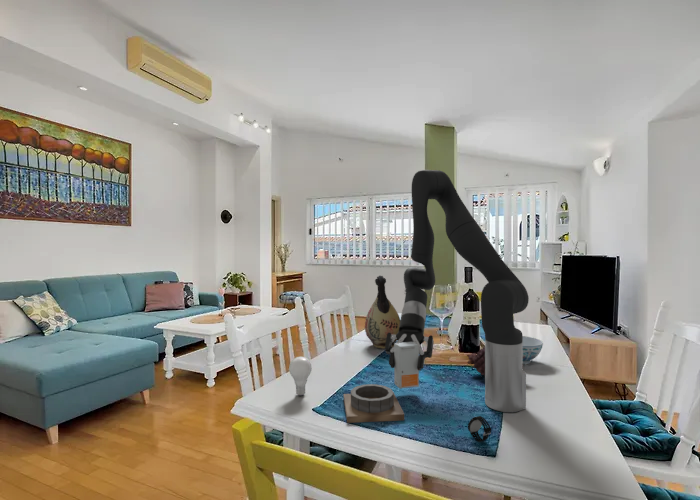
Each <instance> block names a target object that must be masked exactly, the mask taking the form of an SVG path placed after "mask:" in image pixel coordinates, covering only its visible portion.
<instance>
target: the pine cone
mask: <svg viewBox="0 0 700 500" xmlns="http://www.w3.org/2000/svg"><path fill="white" fill-rule="evenodd" d="M466 357H468V358H467V359H468V360H467V362H466V363H467V364H468V365H473V368H474V369H475V370H476V371H477V372H478V373H479V374H480V375H482V376H485V347H483V348H480V349H479V350H478V351H477V352H473V353H470V354H466Z"/></svg>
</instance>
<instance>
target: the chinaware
mask: <svg viewBox="0 0 700 500" xmlns="http://www.w3.org/2000/svg"><path fill="white" fill-rule="evenodd" d="M543 345H544V342H543V341H542V340H540V339H538V338H536V337H531V336H527V335H523V365H528V364H531V361H533V360H534V359H536V358H537V357H538V355H540V353H541V351H542V349H543Z"/></svg>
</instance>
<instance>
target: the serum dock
mask: <svg viewBox="0 0 700 500" xmlns="http://www.w3.org/2000/svg"><path fill="white" fill-rule="evenodd" d="M343 404H344V412H345V418H346V422H347V424H349V423H350V424H351V423H369V422H370V423H371V422H373V423H374V422H395V421H396V422H397V421H405V412H404V410H403V409H402V406H401V405H400V402H399V400H398V398H397V396H396V394H395V392H394V391H393V389H392V388H391V387H388V386H385V385H382V384H374V383H372V384H371V383H369V384H360V385H357V386H355V387H353V388H351V390H350V393H343Z"/></svg>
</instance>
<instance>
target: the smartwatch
mask: <svg viewBox="0 0 700 500" xmlns="http://www.w3.org/2000/svg"><path fill="white" fill-rule="evenodd" d="M481 428H483V436H482V437H481V435H480V434H479V430H480V429H481ZM467 429H468V431H469V432H470V434H471V437H472V438H473V439H474V440H475V441H476V442H477V443H482V442H484V441H487V440H488V439H489V435H491V433H492V427H491V426H490V424H489V423H488V421H487V420H486V418H484V417H483V416H481V415H478V416H475V417H474V416H473V417H472V418H471V419H470V420H469V422H468V424H467Z"/></svg>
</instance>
